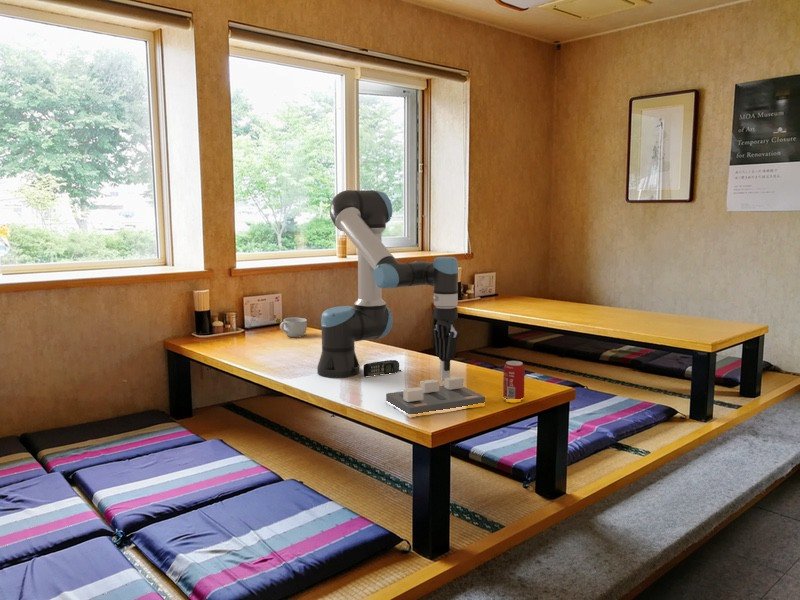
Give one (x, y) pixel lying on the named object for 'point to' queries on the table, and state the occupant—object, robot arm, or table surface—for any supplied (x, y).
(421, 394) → the tab
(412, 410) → the switch plate
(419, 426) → the table surface
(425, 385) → the tab
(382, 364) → the mobile phone
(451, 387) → the tab
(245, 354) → the table surface
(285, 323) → the teacup
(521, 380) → the beverage can
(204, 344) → the table surface
